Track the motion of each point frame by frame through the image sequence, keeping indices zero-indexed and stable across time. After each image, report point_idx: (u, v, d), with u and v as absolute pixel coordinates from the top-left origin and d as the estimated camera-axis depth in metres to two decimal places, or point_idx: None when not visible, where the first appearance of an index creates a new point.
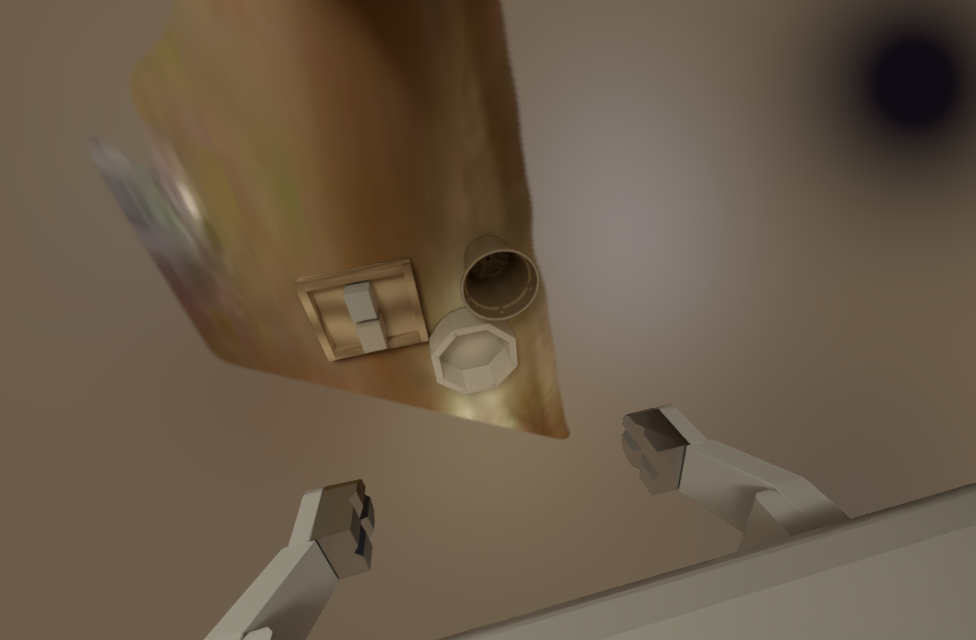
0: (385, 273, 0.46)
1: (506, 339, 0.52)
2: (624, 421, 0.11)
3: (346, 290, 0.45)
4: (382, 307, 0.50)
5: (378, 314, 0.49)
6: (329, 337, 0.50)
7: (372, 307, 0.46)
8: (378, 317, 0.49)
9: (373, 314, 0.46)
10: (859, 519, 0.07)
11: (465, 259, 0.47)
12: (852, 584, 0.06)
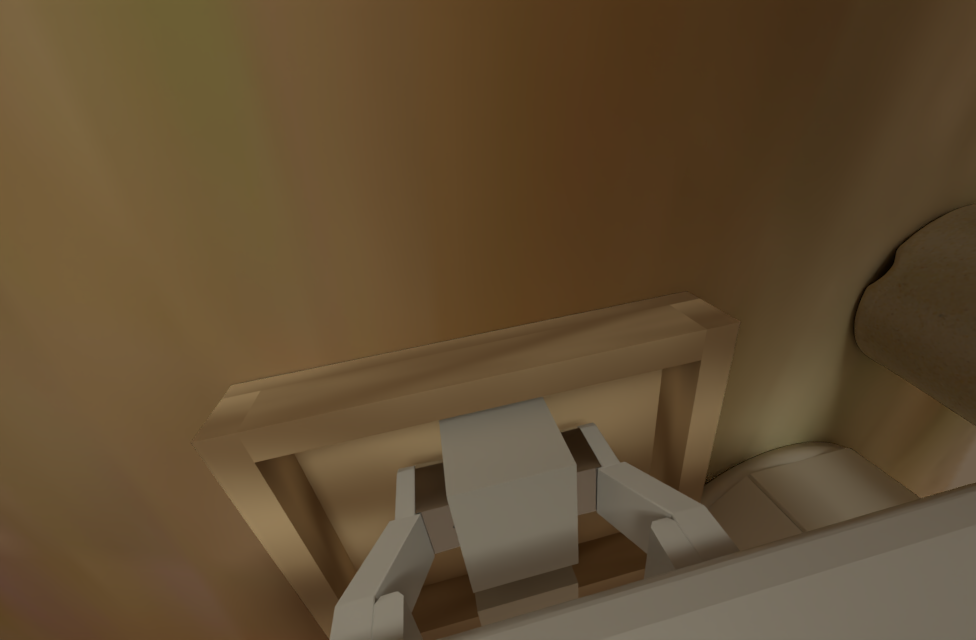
0: (628, 364, 0.10)
1: None
2: None
3: (453, 452, 0.09)
4: None
5: None
6: None
7: (573, 529, 0.10)
8: None
9: (568, 553, 0.10)
10: (859, 519, 0.07)
11: (940, 294, 0.11)
12: (852, 584, 0.06)
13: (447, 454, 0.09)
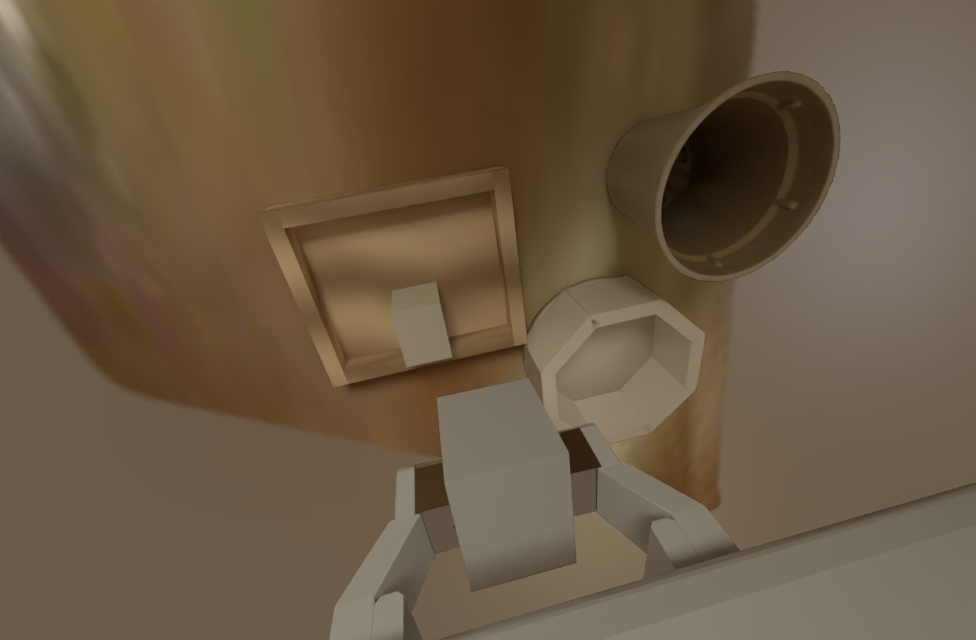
0: (456, 188, 0.21)
1: (688, 335, 0.25)
2: None
3: (451, 445, 0.10)
4: (442, 276, 0.25)
5: (434, 287, 0.24)
6: (335, 338, 0.25)
7: (569, 523, 0.10)
8: (435, 292, 0.24)
9: (565, 551, 0.10)
10: (859, 519, 0.07)
11: (621, 161, 0.22)
12: (852, 584, 0.06)
13: (446, 446, 0.10)
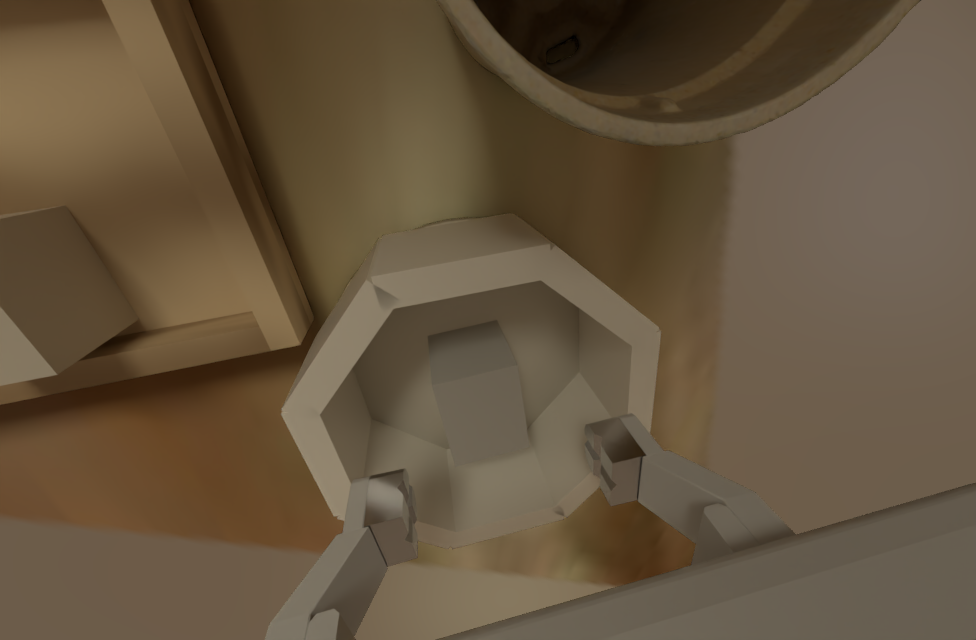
0: None
1: (624, 331, 0.12)
2: (585, 430, 0.11)
3: (437, 364, 0.13)
4: (75, 193, 0.11)
5: (28, 212, 0.10)
6: None
7: (522, 417, 0.14)
8: (4, 217, 0.10)
9: (521, 438, 0.14)
10: (859, 519, 0.07)
11: None
12: (852, 584, 0.06)
13: (433, 365, 0.13)
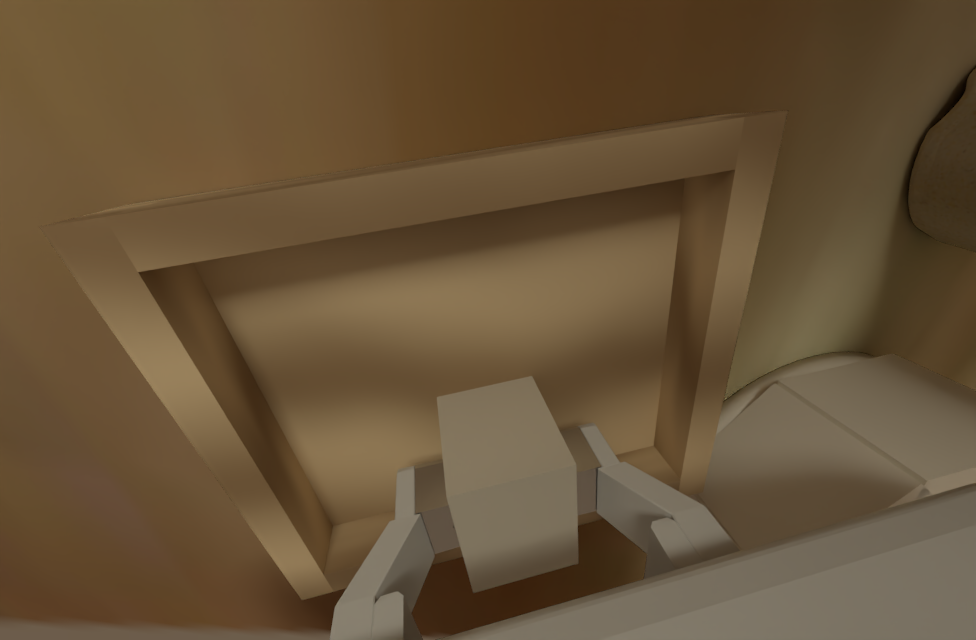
0: (641, 163, 0.08)
1: None
2: None
3: None
4: (544, 365, 0.11)
5: (535, 397, 0.11)
6: (307, 499, 0.11)
7: None
8: (545, 415, 0.10)
9: None
10: (859, 519, 0.07)
11: None
12: (852, 584, 0.06)
13: None
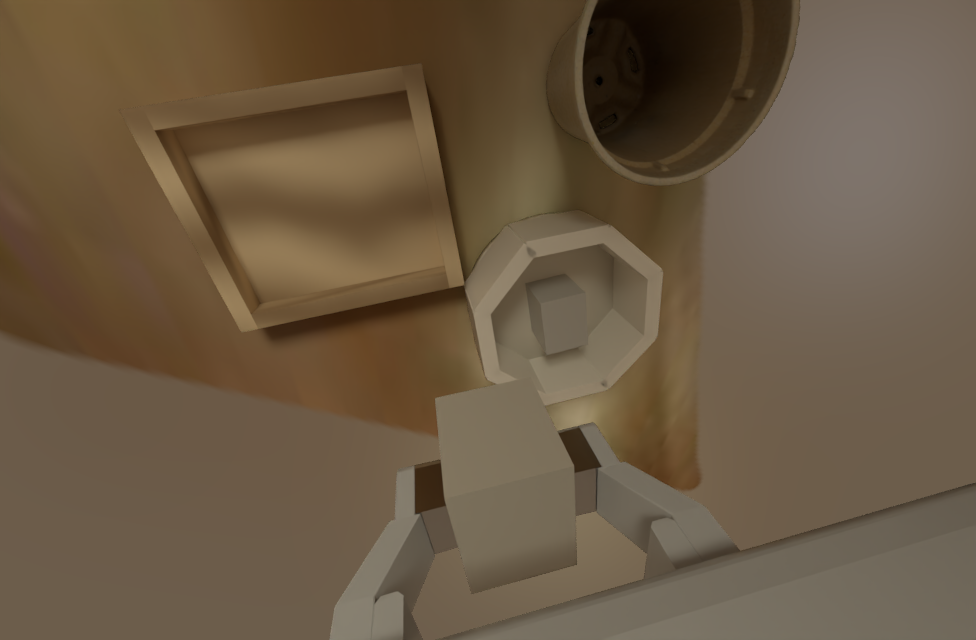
0: (359, 86, 0.18)
1: (643, 271, 0.22)
2: None
3: (538, 295, 0.24)
4: (361, 204, 0.22)
5: (534, 398, 0.11)
6: (241, 276, 0.22)
7: (585, 325, 0.25)
8: (543, 416, 0.10)
9: (584, 338, 0.25)
10: (859, 519, 0.07)
11: (556, 59, 0.19)
12: (852, 584, 0.06)
13: (536, 295, 0.24)
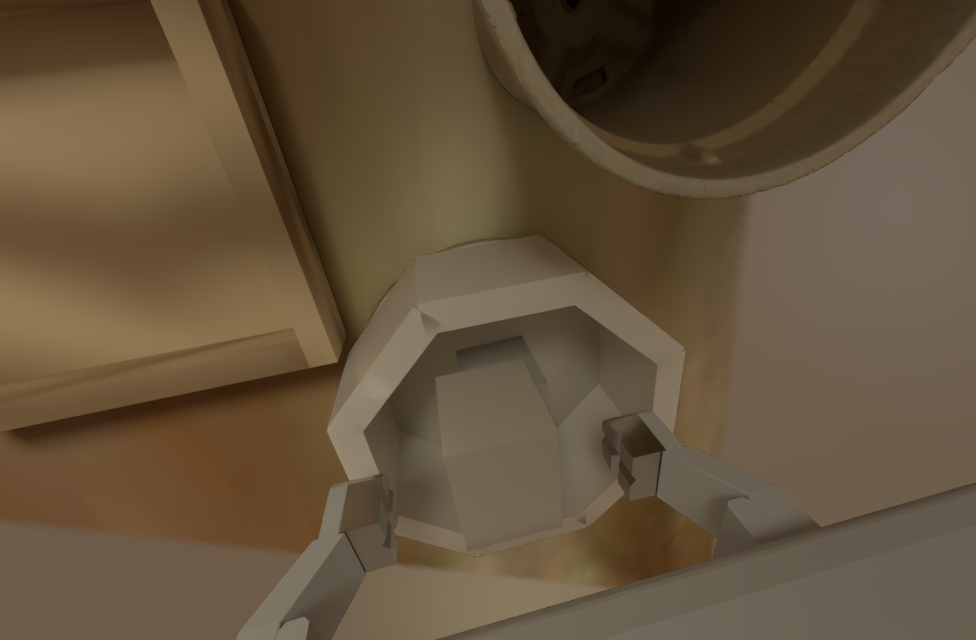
0: None
1: (650, 351, 0.12)
2: (603, 426, 0.11)
3: None
4: (129, 220, 0.12)
5: (524, 376, 0.12)
6: None
7: None
8: (532, 391, 0.11)
9: None
10: (859, 519, 0.07)
11: None
12: (852, 584, 0.06)
13: None
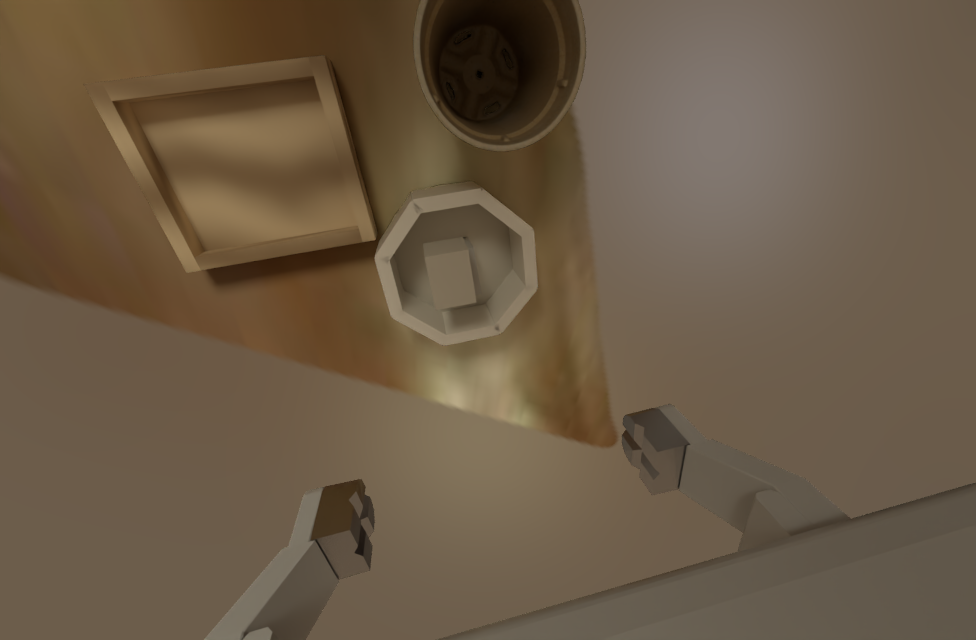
0: (275, 72, 0.23)
1: (516, 229, 0.28)
2: (624, 421, 0.11)
3: None
4: (287, 169, 0.27)
5: (461, 240, 0.27)
6: (187, 225, 0.27)
7: (477, 276, 0.30)
8: (463, 243, 0.26)
9: (477, 288, 0.30)
10: (859, 519, 0.07)
11: (435, 55, 0.25)
12: (852, 584, 0.06)
13: None
